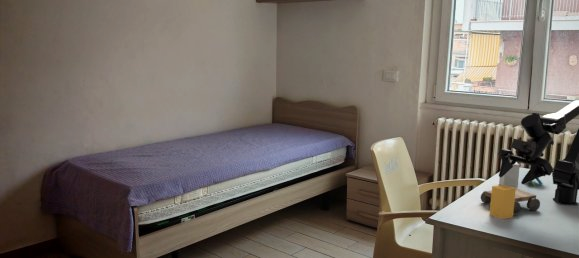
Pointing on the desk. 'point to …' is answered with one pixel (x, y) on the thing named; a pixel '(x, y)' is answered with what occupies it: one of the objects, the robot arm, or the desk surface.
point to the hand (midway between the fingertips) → (510, 180)
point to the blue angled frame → (537, 180)
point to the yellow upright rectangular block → (502, 201)
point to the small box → (510, 176)
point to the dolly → (516, 200)
